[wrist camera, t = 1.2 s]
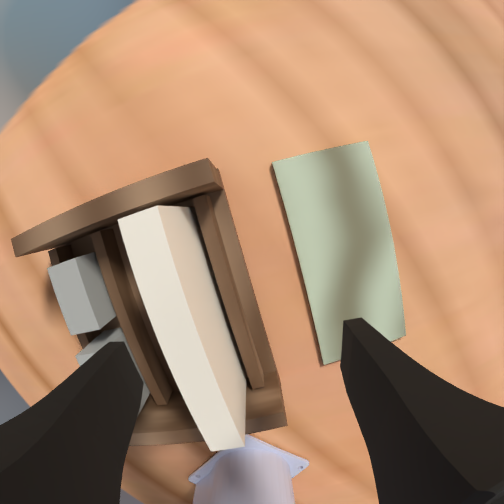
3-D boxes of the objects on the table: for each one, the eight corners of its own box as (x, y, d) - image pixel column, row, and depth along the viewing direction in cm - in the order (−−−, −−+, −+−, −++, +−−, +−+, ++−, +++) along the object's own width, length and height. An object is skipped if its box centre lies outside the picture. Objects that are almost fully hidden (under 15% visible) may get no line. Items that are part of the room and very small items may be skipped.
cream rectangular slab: (222, 376, 21) (210, 451, 13) (168, 215, 19) (117, 219, 11) (246, 371, 20) (244, 446, 13) (194, 207, 19) (157, 205, 11)
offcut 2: (129, 386, 21) (108, 418, 16) (103, 330, 20) (75, 355, 16) (155, 382, 21) (137, 416, 16) (130, 325, 20) (104, 351, 16)
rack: (127, 406, 22) (103, 447, 16) (58, 229, 20) (10, 235, 14) (404, 338, 21) (440, 371, 15) (363, 135, 19) (400, 112, 13)
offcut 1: (97, 315, 20) (71, 335, 16) (78, 258, 19) (47, 268, 15) (124, 309, 20) (100, 329, 16) (104, 249, 19) (75, 257, 15)
